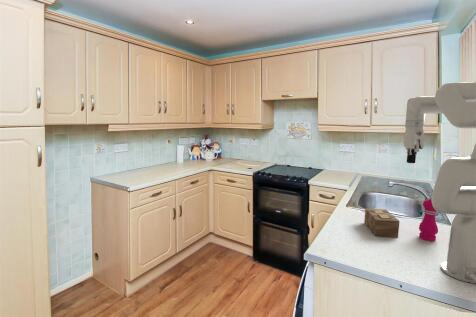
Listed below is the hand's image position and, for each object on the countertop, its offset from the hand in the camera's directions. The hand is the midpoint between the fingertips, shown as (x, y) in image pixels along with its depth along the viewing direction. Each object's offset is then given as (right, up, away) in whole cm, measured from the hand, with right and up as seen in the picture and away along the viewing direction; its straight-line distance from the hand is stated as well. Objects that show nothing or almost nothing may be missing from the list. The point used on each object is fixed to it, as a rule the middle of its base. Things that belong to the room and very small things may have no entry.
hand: (410, 162), depth 132 cm
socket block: (-13, -33, +3) cm, 36 cm away
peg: (-14, -33, -1) cm, 36 cm away
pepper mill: (+4, -35, -6) cm, 35 cm away
